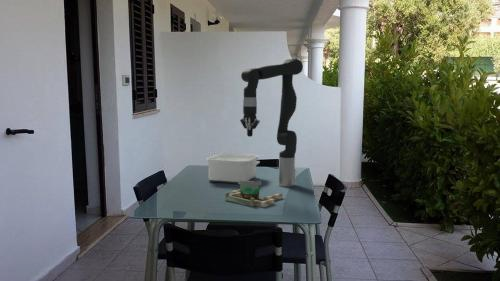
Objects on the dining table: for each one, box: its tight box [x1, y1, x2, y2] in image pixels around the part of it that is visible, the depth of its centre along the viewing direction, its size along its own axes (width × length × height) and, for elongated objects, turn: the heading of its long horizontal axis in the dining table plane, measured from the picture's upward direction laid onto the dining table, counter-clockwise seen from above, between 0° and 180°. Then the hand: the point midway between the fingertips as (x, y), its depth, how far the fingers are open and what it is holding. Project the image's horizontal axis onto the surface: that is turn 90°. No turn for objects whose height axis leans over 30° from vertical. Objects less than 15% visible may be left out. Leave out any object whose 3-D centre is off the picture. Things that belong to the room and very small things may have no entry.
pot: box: [205, 152, 261, 185], centre depth 290 cm, size 34×29×15 cm
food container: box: [237, 179, 263, 200], centre depth 240 cm, size 12×6×10 cm, turn 92°
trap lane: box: [224, 188, 283, 208], centre depth 241 cm, size 24×28×4 cm
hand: (249, 136), depth 256 cm, fingers closed
